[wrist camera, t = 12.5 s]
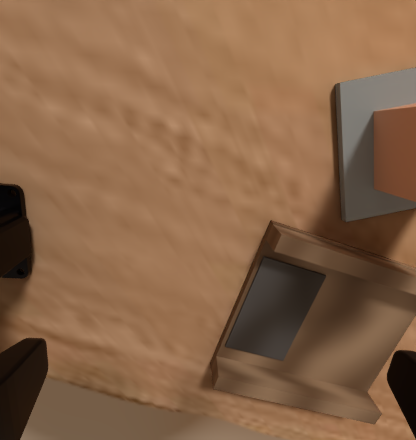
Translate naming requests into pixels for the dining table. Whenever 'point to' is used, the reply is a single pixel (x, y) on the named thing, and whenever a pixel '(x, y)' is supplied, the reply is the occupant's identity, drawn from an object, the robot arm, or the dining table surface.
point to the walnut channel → (314, 324)
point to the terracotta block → (395, 151)
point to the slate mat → (367, 140)
